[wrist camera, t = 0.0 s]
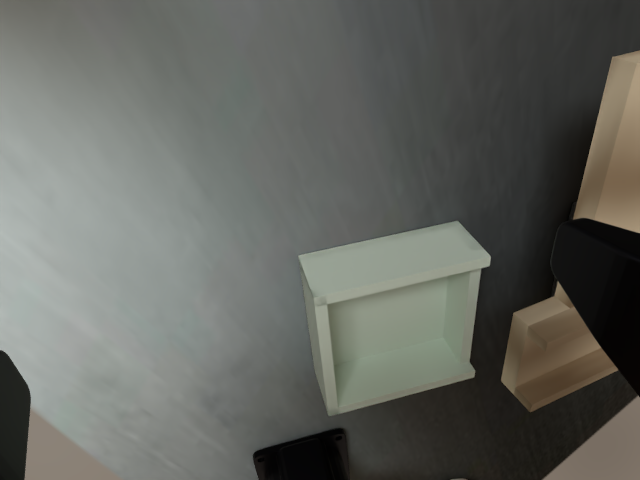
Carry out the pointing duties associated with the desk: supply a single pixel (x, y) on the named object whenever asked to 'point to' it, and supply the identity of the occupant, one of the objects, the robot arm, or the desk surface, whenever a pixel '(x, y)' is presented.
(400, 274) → the tray
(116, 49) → the desk surface
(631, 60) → the lever
